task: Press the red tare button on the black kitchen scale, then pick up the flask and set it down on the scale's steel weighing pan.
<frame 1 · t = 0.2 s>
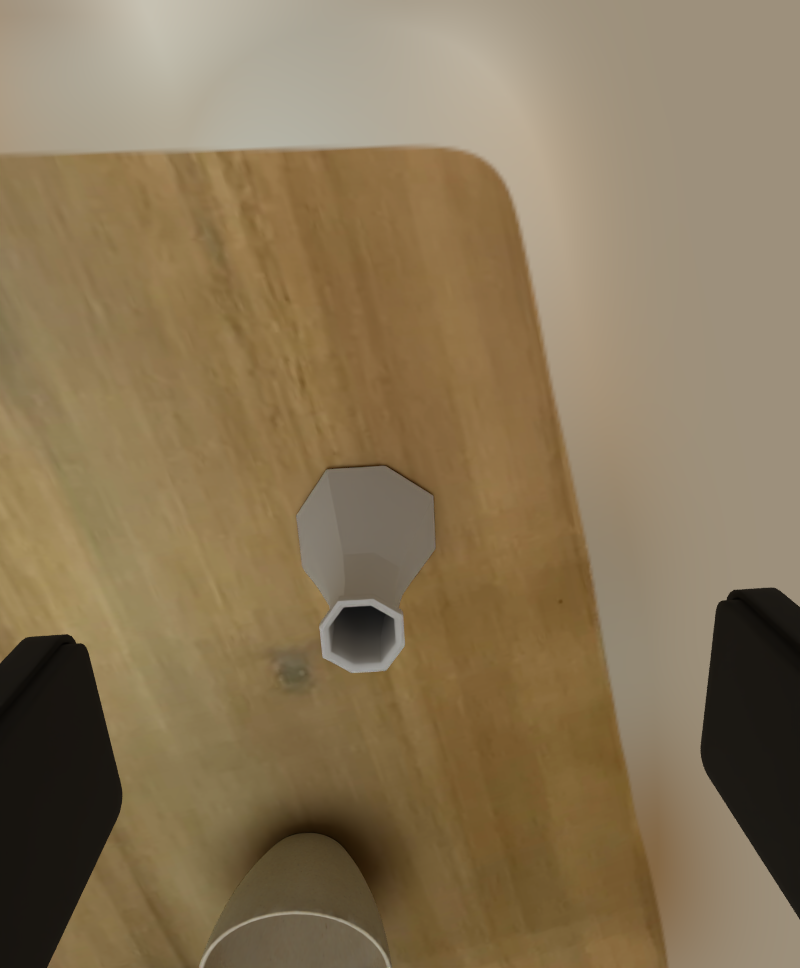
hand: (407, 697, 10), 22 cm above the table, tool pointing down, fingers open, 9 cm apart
flask: (367, 528, 33), on the table
bowl: (310, 860, 40), on the table
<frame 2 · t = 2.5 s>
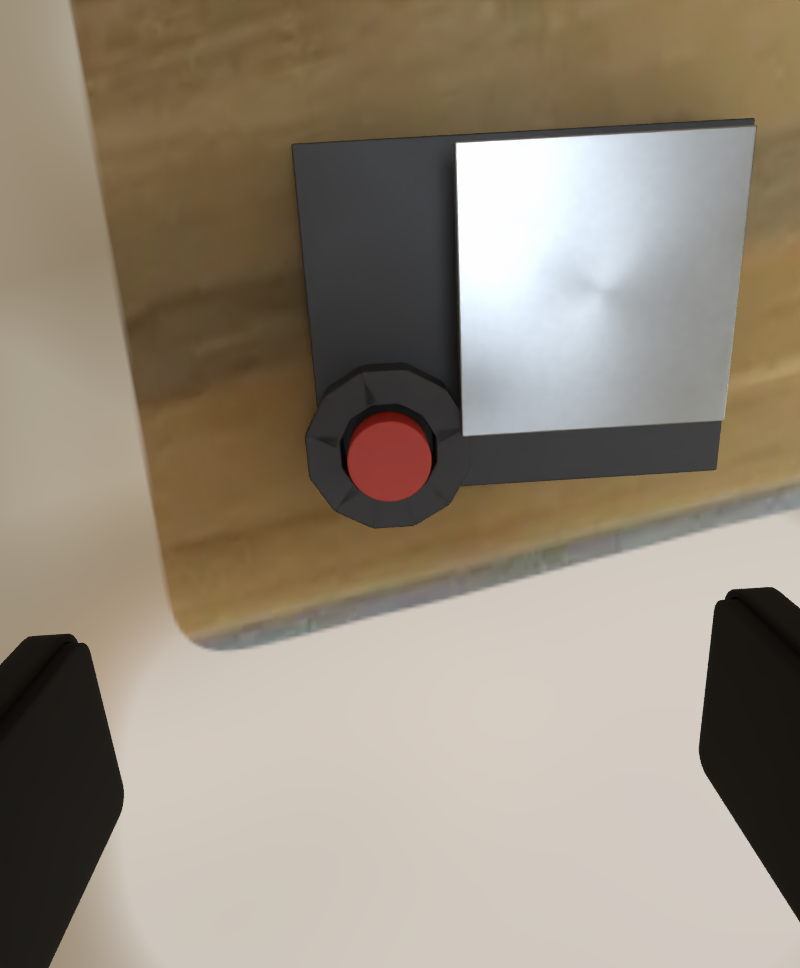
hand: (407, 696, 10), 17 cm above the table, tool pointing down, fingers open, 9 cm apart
tare button: (389, 455, 22), point 3 cm above the table, slide at 0.1 cm
scale: (515, 318, 24), on the table
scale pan: (569, 287, 24), resting on scale
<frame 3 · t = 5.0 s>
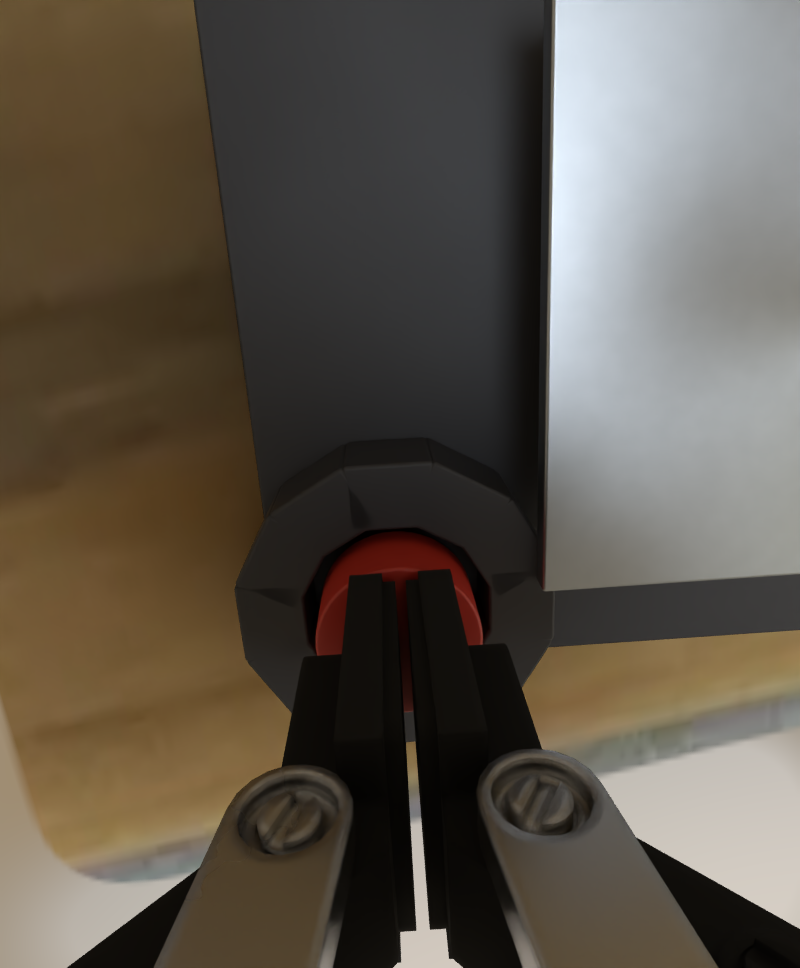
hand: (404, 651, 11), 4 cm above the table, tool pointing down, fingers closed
tare button: (398, 619, 12), point 3 cm above the table, slide at -0.1 cm, touching gripper
scale: (626, 350, 13), on the table
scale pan: (728, 293, 13), resting on scale
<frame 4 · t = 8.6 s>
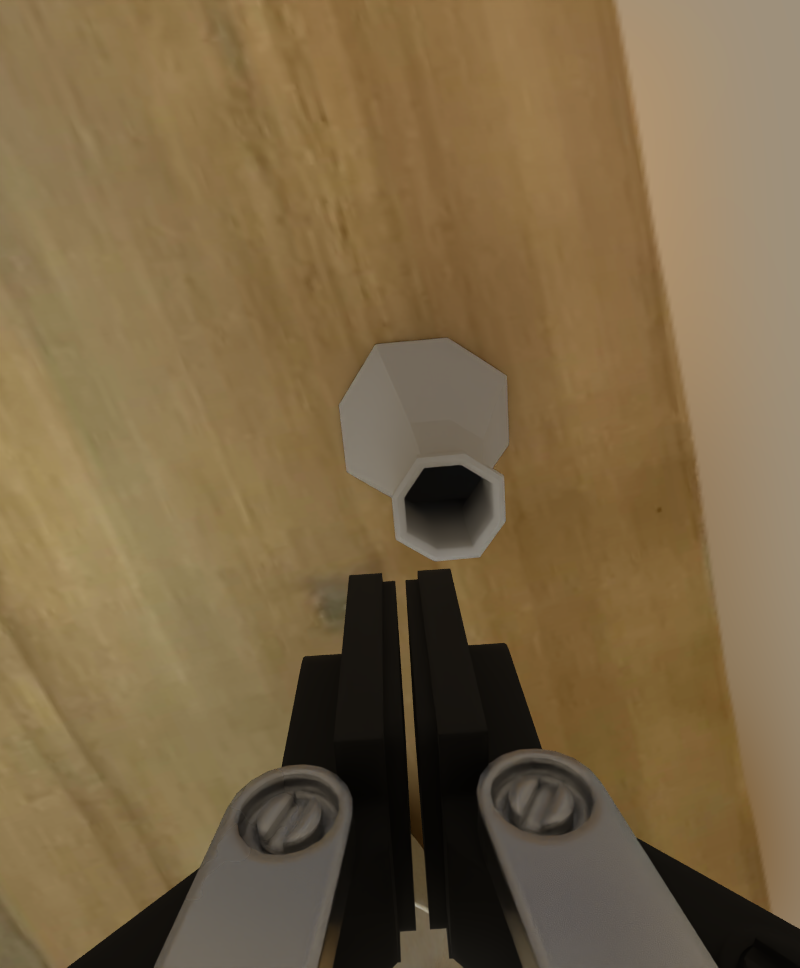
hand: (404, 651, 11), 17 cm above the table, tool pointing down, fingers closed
flask: (424, 422, 27), on the table
bowl: (358, 836, 34), on the table
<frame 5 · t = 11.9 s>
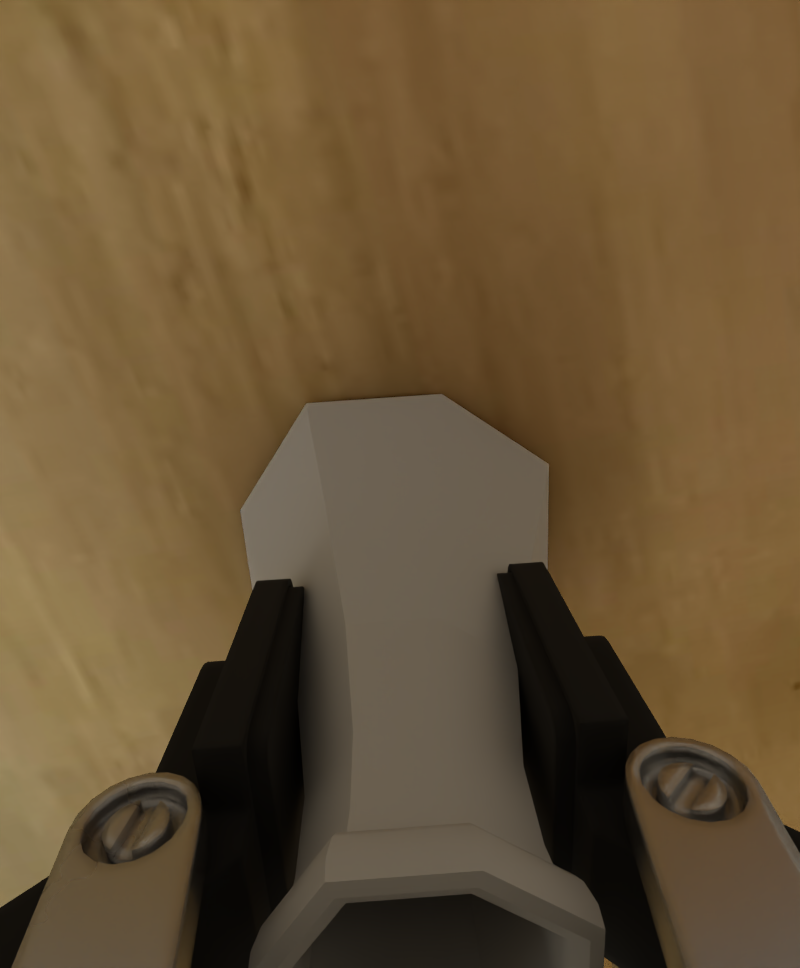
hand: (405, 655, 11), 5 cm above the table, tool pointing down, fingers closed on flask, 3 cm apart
flask: (397, 537, 15), on the table, touching gripper
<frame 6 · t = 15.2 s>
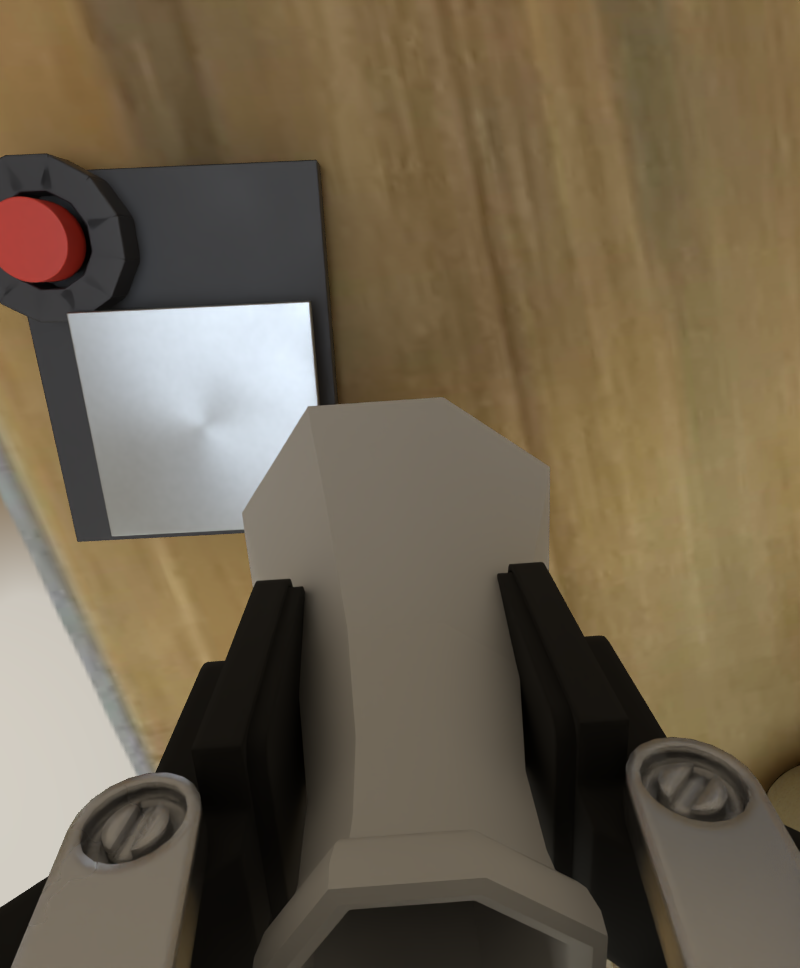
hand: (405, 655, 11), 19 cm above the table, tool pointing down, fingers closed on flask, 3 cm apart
tare button: (37, 240, 23), point 3 cm above the table, slide at 0.1 cm
scale: (195, 362, 28), on the table
flask: (398, 540, 15), point 15 cm above the table, touching gripper
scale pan: (224, 406, 29), resting on scale
when the fingers open (8 cm above the table, at t = 18.6 s): flask stays where it is, resting on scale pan.
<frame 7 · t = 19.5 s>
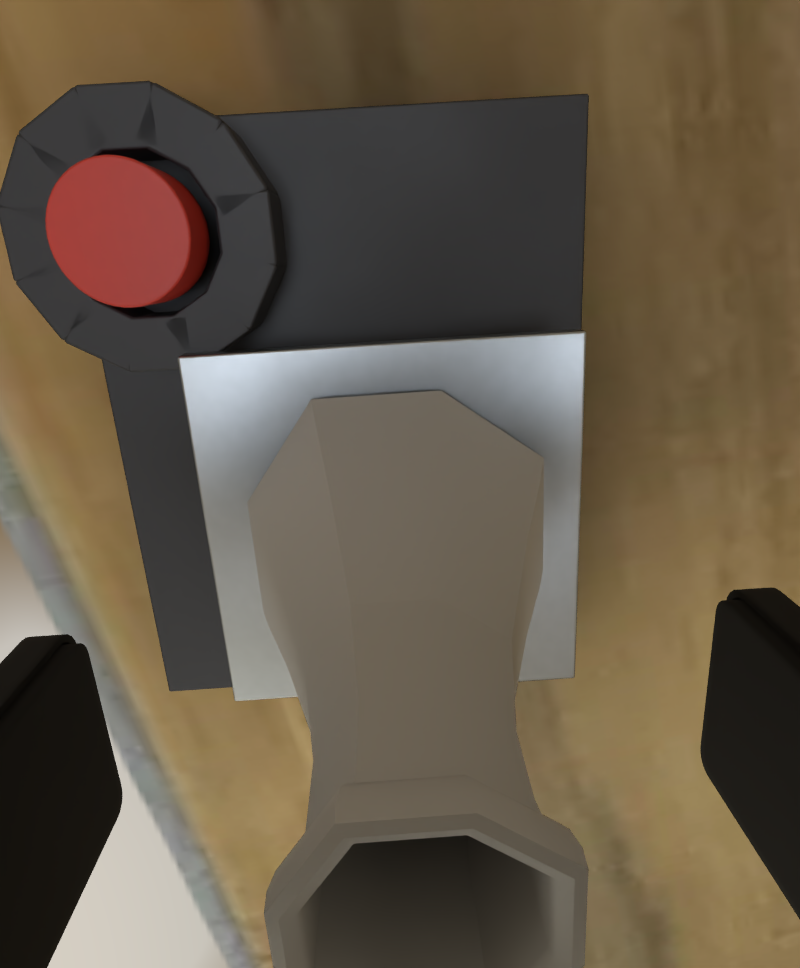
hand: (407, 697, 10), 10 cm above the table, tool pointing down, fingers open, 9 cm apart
tare button: (132, 235, 13), point 3 cm above the table, slide at 0.1 cm
scale: (352, 421, 18), on the table
flask: (398, 529, 16), point 3 cm above the table, touching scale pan
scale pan: (392, 486, 19), resting on scale
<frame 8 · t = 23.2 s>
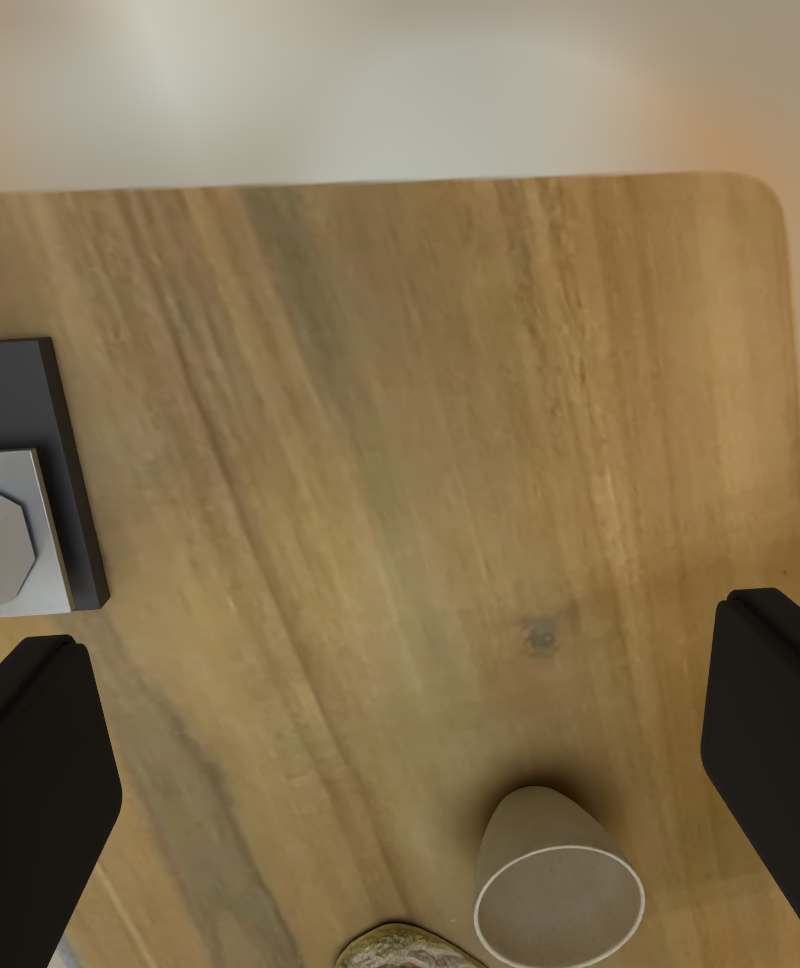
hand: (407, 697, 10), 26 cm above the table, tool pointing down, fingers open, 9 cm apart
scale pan: (0, 515, 36), resting on scale
bowl: (532, 811, 45), on the table
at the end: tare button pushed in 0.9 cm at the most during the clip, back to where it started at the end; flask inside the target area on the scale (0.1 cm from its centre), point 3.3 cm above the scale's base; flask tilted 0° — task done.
